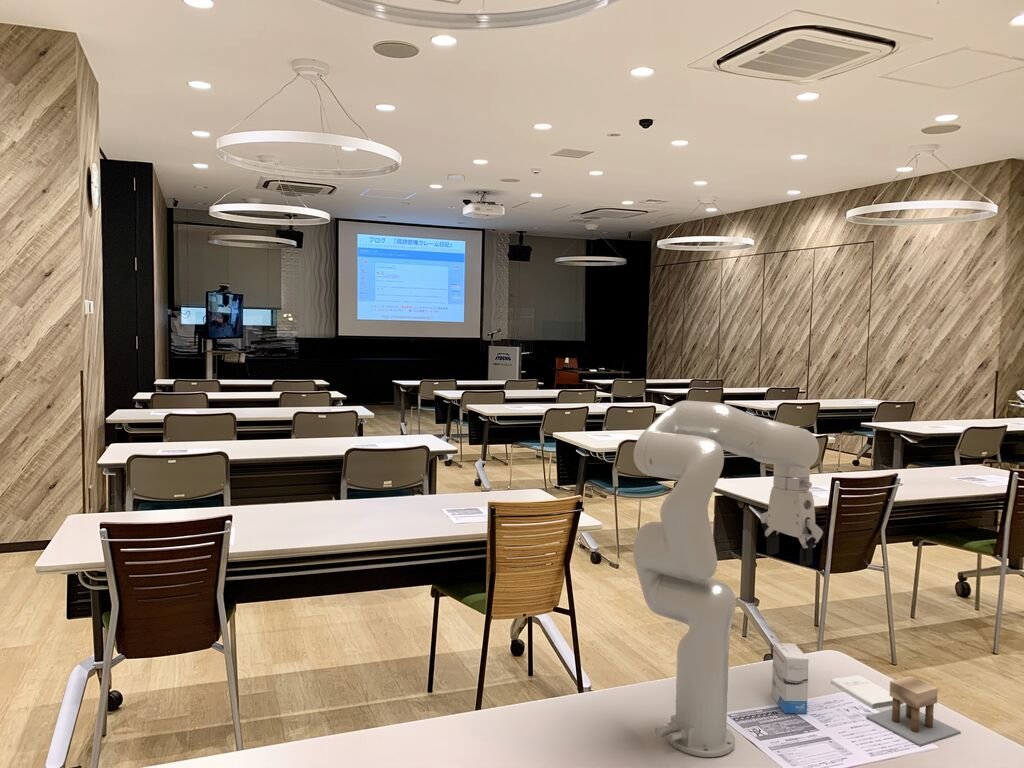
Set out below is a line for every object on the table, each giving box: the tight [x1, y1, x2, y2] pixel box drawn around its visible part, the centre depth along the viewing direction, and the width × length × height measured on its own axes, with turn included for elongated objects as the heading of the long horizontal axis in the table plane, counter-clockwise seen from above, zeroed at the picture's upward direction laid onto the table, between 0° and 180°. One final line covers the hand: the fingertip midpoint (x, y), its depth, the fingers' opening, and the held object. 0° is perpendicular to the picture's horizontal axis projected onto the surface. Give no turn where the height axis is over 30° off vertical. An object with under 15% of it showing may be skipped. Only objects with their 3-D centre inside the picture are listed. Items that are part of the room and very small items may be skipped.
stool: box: [889, 675, 938, 733], centre depth 151 cm, size 6×6×8 cm
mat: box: [865, 704, 962, 747], centre depth 151 cm, size 12×12×1 cm
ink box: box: [771, 642, 810, 715], centre depth 159 cm, size 8×5×12 cm, turn 179°
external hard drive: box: [830, 674, 904, 709], centre depth 165 cm, size 2×8×12 cm
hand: (788, 559), depth 168 cm, fingers open, 9 cm apart
